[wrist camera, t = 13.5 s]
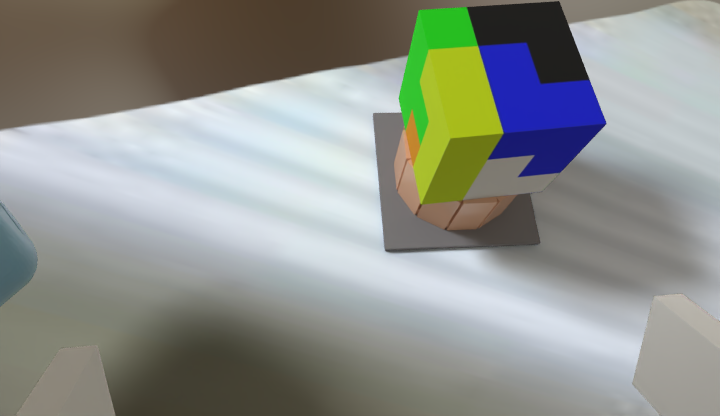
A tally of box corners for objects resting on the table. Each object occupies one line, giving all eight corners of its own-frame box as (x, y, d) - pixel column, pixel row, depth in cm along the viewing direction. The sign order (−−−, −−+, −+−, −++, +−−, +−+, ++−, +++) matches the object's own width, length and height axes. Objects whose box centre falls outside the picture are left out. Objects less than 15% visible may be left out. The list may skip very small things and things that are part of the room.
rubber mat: (384, 250, 44) (385, 248, 44) (373, 116, 50) (373, 113, 49) (538, 244, 46) (540, 242, 45) (510, 113, 51) (511, 110, 50)
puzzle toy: (542, 191, 40) (606, 123, 31) (420, 204, 39) (450, 138, 30) (510, 88, 44) (559, 1, 35) (398, 98, 43) (418, 10, 34)
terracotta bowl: (400, 232, 45) (411, 205, 39) (390, 126, 49) (398, 88, 43) (520, 227, 46) (548, 200, 40) (500, 123, 50) (521, 86, 44)
